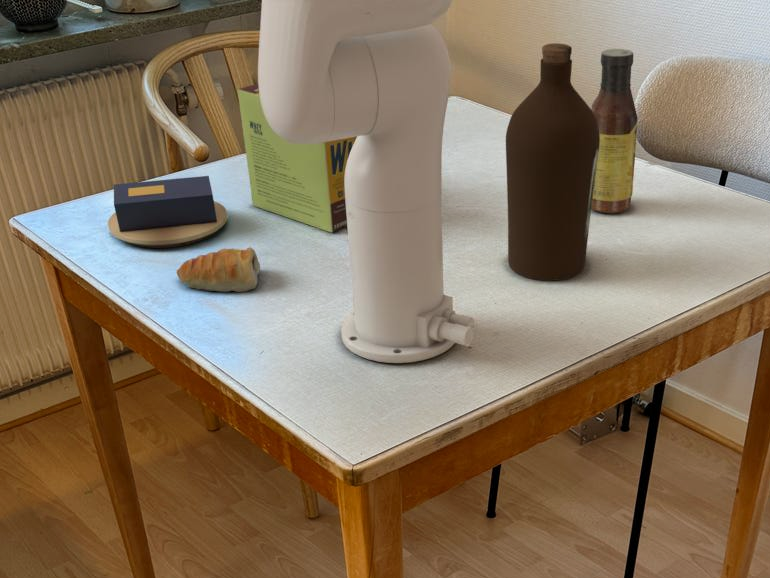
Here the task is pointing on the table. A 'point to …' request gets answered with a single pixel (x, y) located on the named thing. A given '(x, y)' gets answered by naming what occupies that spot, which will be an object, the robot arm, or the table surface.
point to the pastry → (222, 271)
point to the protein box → (293, 170)
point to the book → (165, 211)
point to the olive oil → (551, 174)
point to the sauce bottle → (615, 133)
